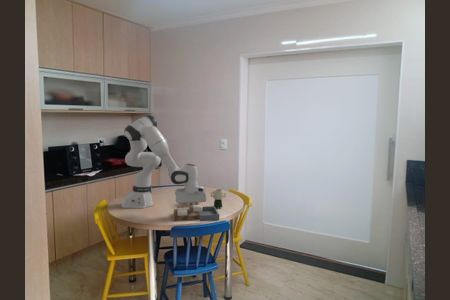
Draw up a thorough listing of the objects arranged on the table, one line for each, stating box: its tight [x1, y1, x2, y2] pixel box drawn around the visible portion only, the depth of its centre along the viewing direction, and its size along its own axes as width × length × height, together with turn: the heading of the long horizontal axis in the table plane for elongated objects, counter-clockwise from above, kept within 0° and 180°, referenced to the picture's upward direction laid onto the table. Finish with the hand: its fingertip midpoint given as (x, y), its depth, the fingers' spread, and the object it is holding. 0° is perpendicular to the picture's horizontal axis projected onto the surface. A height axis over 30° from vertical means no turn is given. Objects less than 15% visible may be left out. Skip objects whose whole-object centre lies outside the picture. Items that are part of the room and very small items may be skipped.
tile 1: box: [193, 204, 204, 212], centre depth 207 cm, size 6×6×2 cm
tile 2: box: [176, 208, 188, 216], centre depth 198 cm, size 6×6×2 cm
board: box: [173, 208, 200, 222], centre depth 202 cm, size 16×15×3 cm
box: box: [199, 205, 220, 222], centre depth 205 cm, size 12×19×3 cm, turn 12°
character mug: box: [210, 188, 227, 209], centre depth 223 cm, size 11×7×13 cm, turn 92°
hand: (190, 208), depth 206 cm, fingers closed
